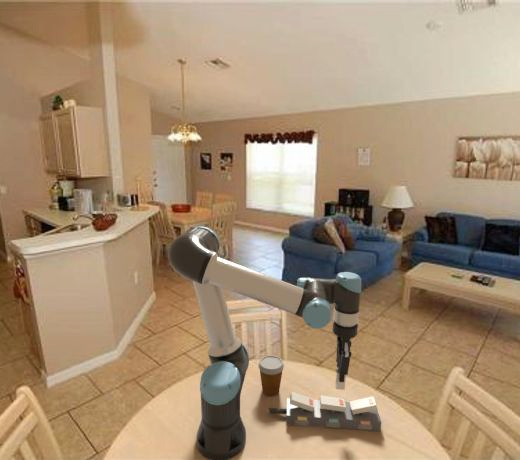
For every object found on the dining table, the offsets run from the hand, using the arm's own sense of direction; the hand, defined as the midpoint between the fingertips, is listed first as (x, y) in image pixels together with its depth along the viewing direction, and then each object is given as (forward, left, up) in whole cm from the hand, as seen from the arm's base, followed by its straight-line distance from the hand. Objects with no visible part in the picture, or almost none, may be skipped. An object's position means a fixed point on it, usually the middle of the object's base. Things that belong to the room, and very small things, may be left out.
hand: (340, 387), depth 112 cm
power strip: (-5, 0, -12) cm, 13 cm away
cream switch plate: (-2, 0, -6) cm, 6 cm away
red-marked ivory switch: (-12, 0, -6) cm, 14 cm away
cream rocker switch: (+8, 0, -6) cm, 10 cm away
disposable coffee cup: (-23, +12, -12) cm, 29 cm away
